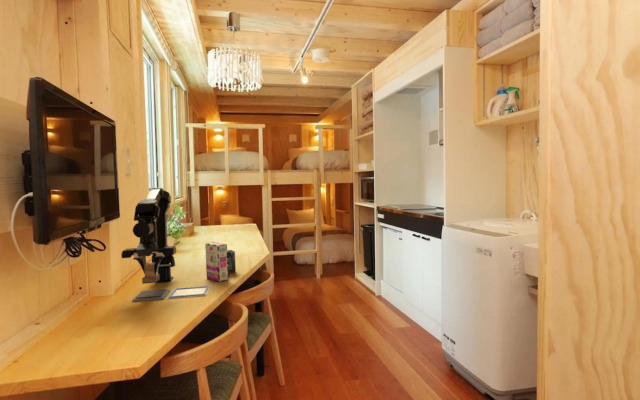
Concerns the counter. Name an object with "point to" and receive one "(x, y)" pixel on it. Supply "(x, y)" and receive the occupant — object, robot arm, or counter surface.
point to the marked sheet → (189, 292)
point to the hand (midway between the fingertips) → (150, 273)
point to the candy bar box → (216, 261)
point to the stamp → (150, 274)
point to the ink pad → (151, 295)
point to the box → (231, 261)
